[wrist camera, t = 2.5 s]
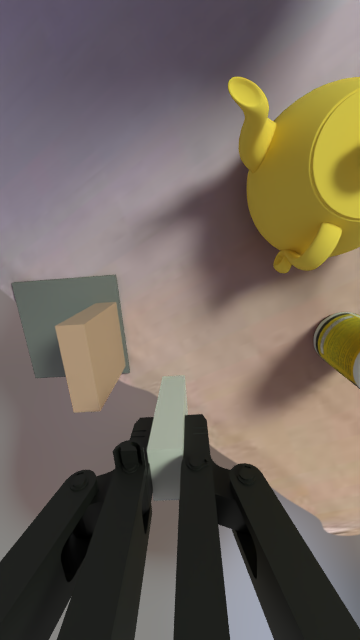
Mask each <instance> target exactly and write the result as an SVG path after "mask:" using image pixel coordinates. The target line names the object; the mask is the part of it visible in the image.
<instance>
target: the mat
mask: <svg viewBox="0 0 360 640" xmlns="http://www.w3.org/2000/svg"><path fill="white" fill-rule="evenodd" d="M12 287H13V291H14V295H15V299H16V303H17V307H18V311H19V315H20V319H21V323H22V327H23V330H24V334H25V338H26V342H27V346H28V350H29V354H30V358H31V362H32V366H33V370H34V374H35V377H36V378H47V377H66V375H65V370H64V365H63V361H62V356H61V352H60V347H59V343H58V338H57V334H56V329H55V326H56V325H58V324H59V323H61V322H63V321H65V320H67V319H68V318H70V317H72V316H74V315H76V314H77V313H79V312H81V311H83V310H85V309H86V308H88V307H90V306H92V305H93V304H95V303H106V302H116V304H117V310H118V317H119V324H120V331H121V337H122V344H123V351H124V358H125V365H126V366H125V368H124V370H123V372H122V373H121V374H123V373H130V369H129V362H128V355H127V348H126V341H125V334H124V327H123V320H122V313H121V306H120V299H119V292H118V285H117V278H116V275H106V276H93V277H80V278H67V279H54V280H40V281H27V282H14V283H12Z"/></svg>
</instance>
